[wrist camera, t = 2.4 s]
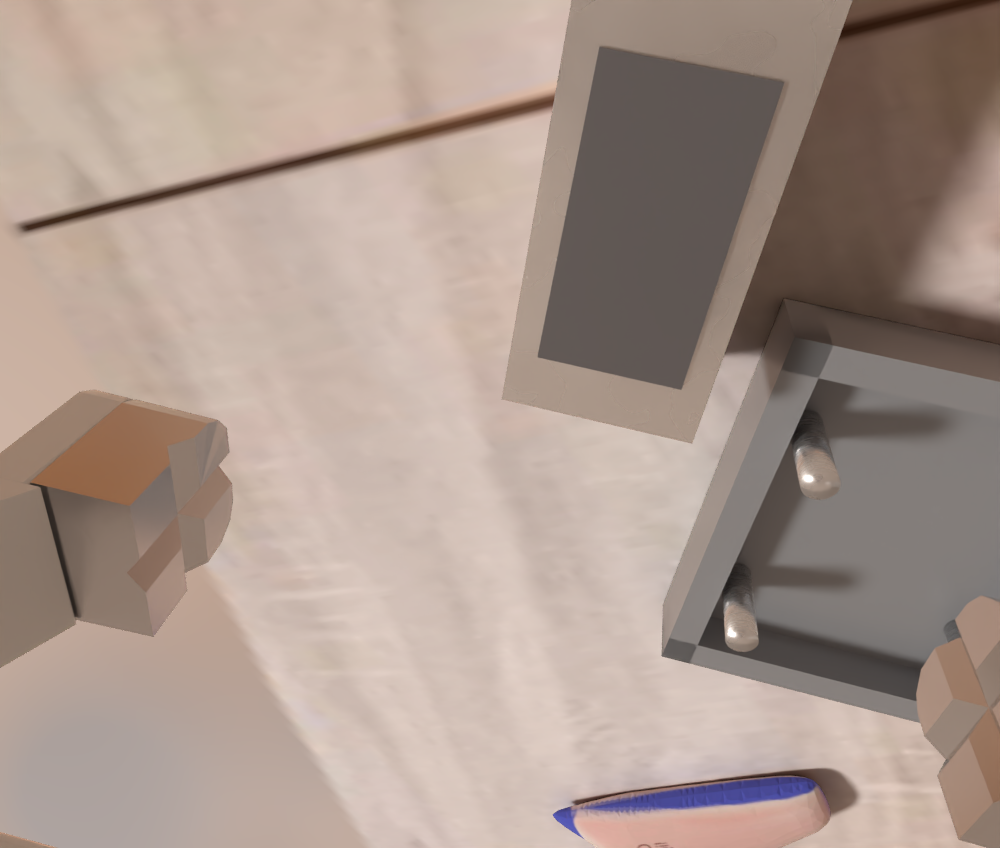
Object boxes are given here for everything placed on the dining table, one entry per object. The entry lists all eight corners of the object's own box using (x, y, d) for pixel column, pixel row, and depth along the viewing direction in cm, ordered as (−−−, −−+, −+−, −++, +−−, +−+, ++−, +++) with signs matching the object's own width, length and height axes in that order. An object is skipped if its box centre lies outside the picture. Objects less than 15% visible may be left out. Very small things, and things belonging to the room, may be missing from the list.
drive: (812, -17, 18) (854, 0, 13) (689, 353, 23) (692, 445, 19) (603, -54, 18) (579, -49, 14) (532, 317, 24) (500, 401, 19)
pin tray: (1185, 384, 21) (1280, 470, 17) (955, 678, 28) (991, 777, 25) (783, 298, 22) (801, 364, 18) (663, 604, 29) (660, 690, 26)
